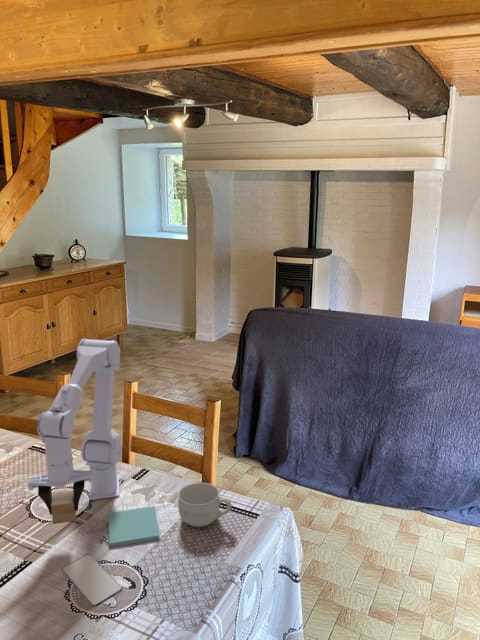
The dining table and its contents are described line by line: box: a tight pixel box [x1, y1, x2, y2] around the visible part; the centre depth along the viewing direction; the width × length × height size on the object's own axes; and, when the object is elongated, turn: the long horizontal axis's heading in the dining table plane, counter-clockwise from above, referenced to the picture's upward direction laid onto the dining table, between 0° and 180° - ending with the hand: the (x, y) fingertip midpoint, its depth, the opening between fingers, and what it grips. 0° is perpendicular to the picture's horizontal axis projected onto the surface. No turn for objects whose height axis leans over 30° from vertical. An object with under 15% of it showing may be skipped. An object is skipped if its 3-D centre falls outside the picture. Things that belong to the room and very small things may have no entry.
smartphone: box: [61, 553, 123, 607], centre depth 113 cm, size 7×1×15 cm
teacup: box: [177, 482, 232, 528], centre depth 131 cm, size 14×11×8 cm
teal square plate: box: [108, 505, 161, 548], centre depth 130 cm, size 12×12×1 cm
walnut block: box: [51, 490, 77, 525], centre depth 122 cm, size 5×5×5 cm
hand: (64, 510), depth 123 cm, fingers closed on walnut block, 5 cm apart
